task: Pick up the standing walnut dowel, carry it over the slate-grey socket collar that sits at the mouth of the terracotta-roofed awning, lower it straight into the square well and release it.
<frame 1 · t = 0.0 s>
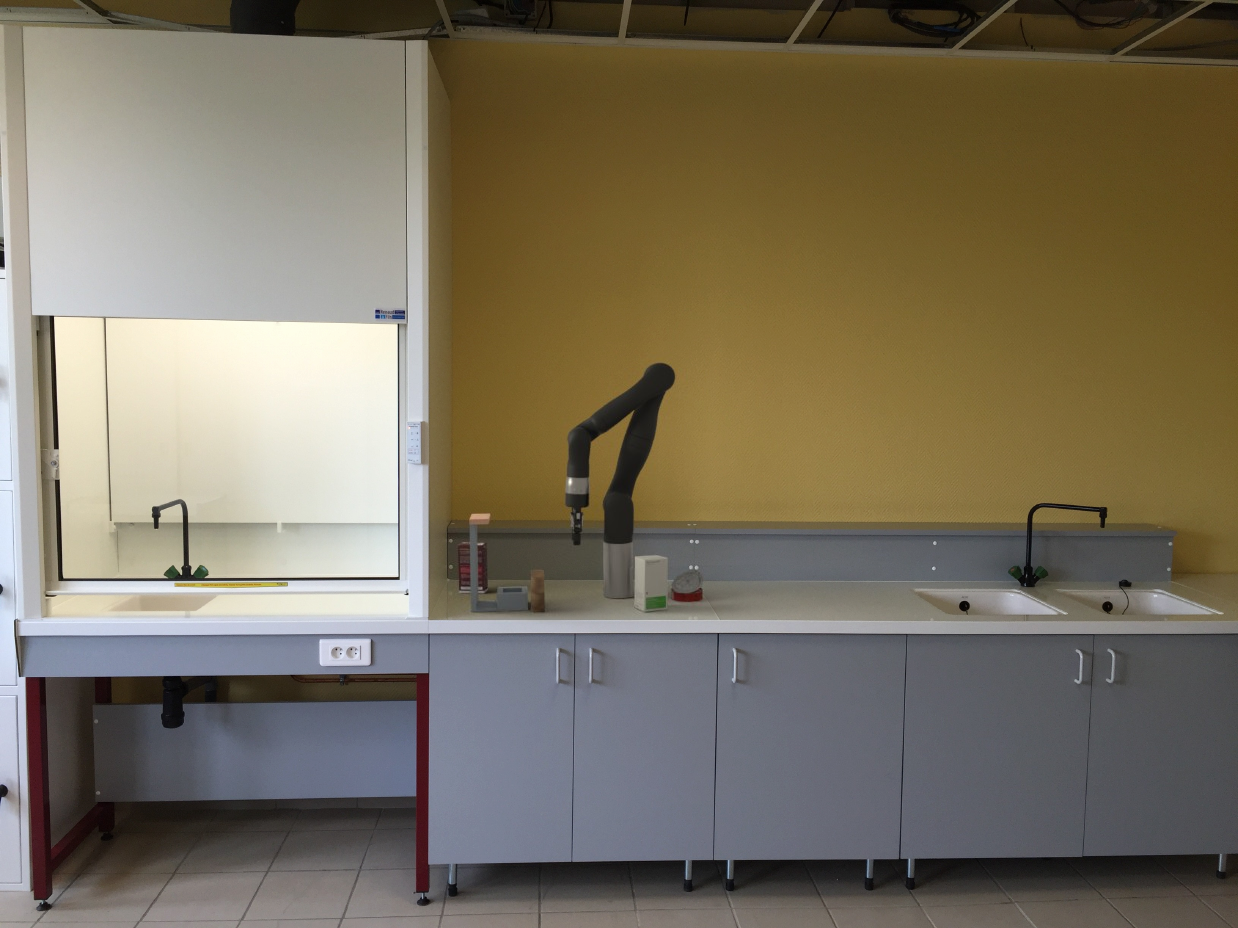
hand: (576, 542, 258), 17 cm above the table, tool pointing down, fingers open, 8 cm apart
supplement box: (473, 592, 266), on the table
canned food: (686, 599, 257), on the table
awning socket: (512, 606, 247), on the table
peg: (537, 610, 242), on the table
skincare box: (650, 609, 245), on the table
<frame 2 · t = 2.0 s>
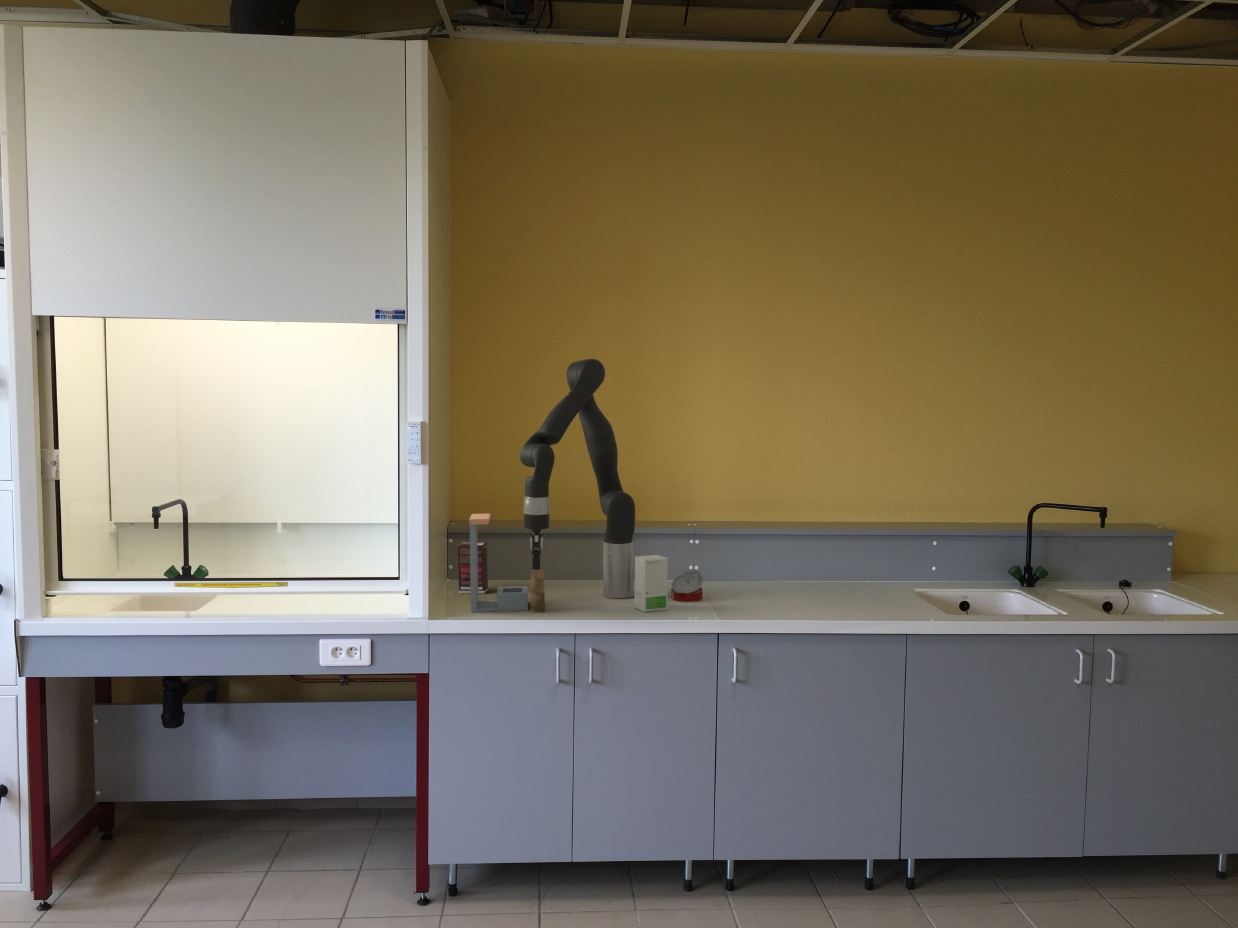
hand: (536, 566, 241), 13 cm above the table, tool pointing down, fingers open, 8 cm apart
nothing on the table moved.
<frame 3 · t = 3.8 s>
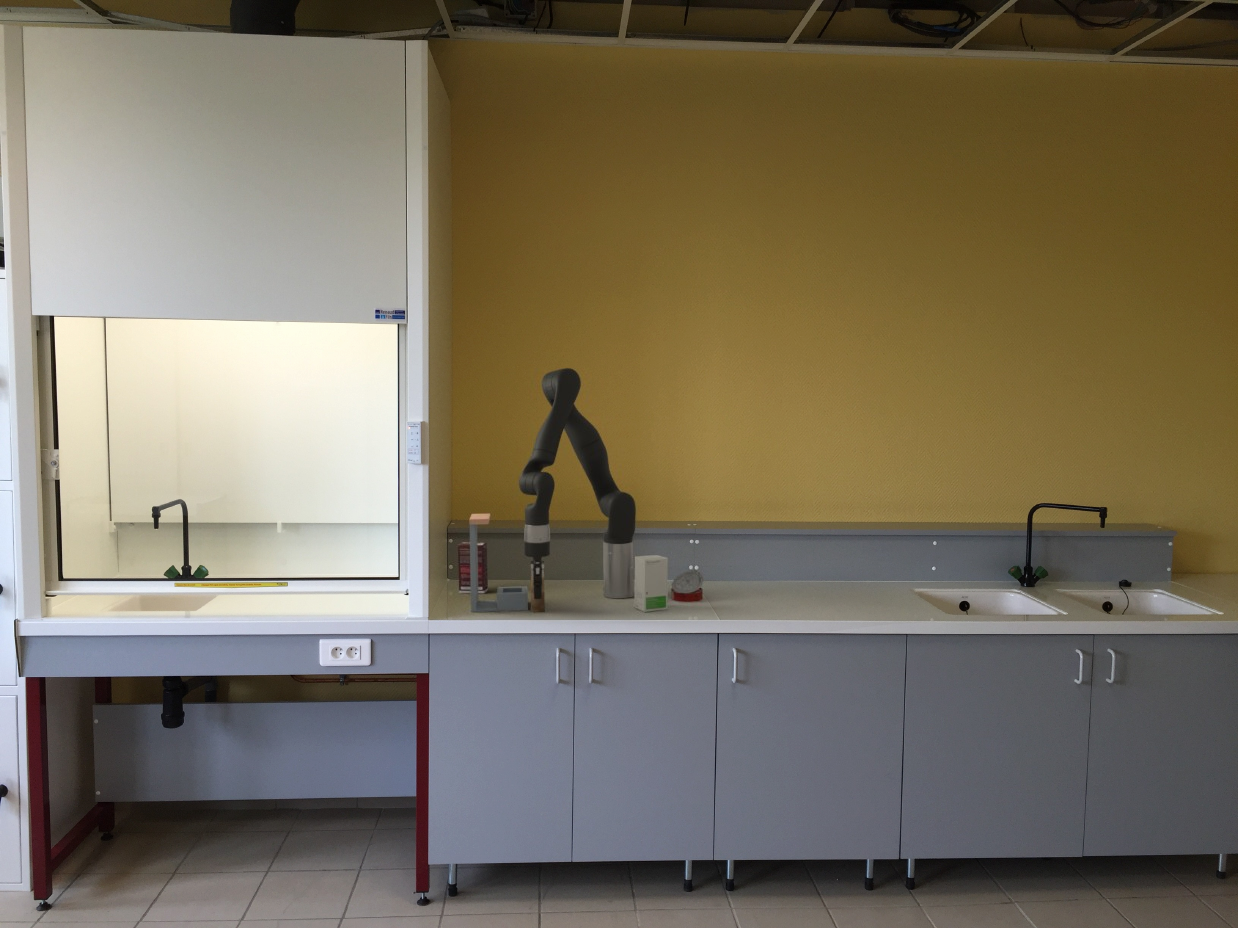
hand: (537, 596, 242), 4 cm above the table, tool pointing down, fingers closed on peg, 4 cm apart
peg: (537, 610, 242), on the table, touching gripper
everything else where it was.
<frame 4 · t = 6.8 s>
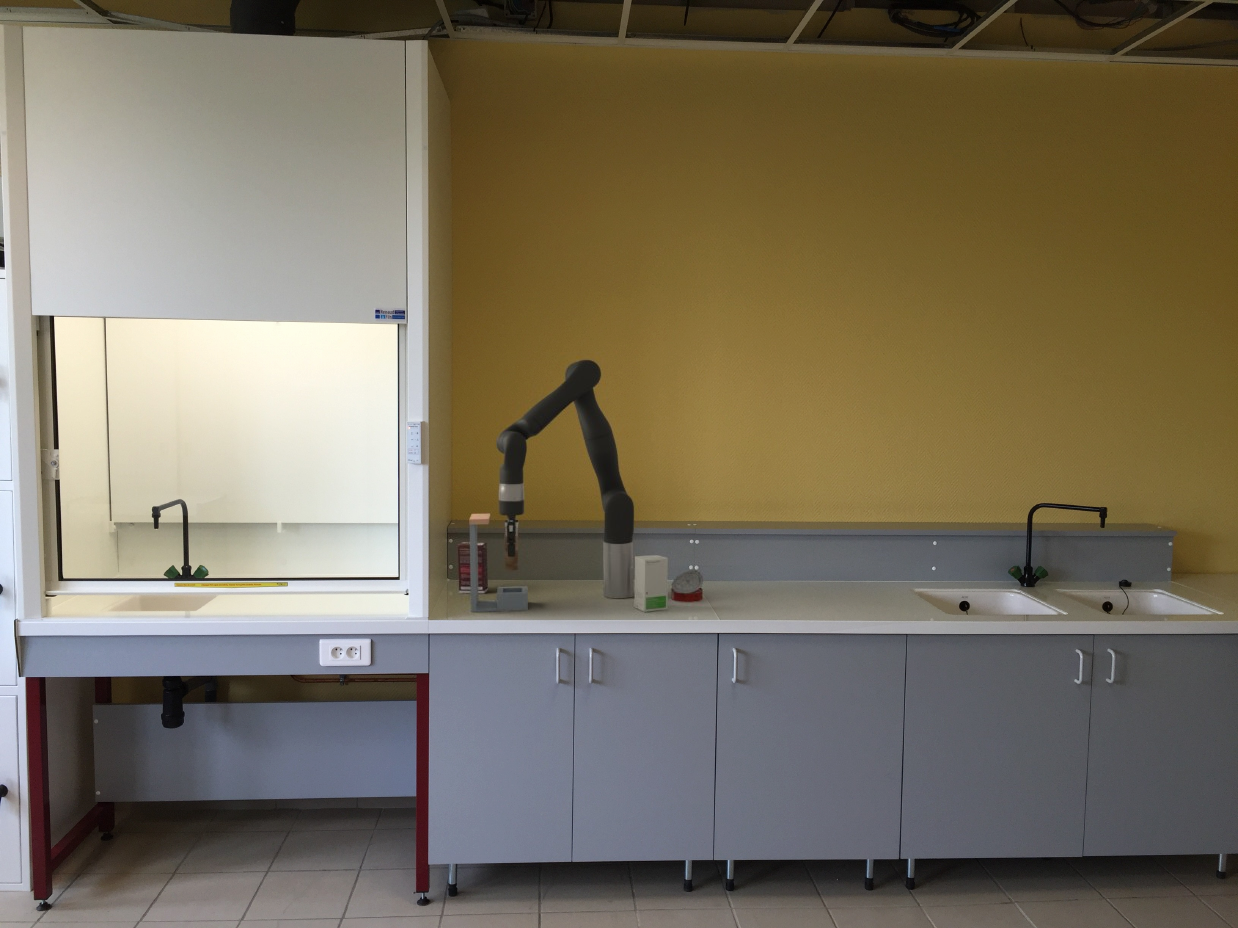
hand: (511, 554, 246), 16 cm above the table, tool pointing down, fingers closed on peg, 4 cm apart
peg: (511, 568, 246), point 11 cm above the table, touching gripper
everything else where it was.
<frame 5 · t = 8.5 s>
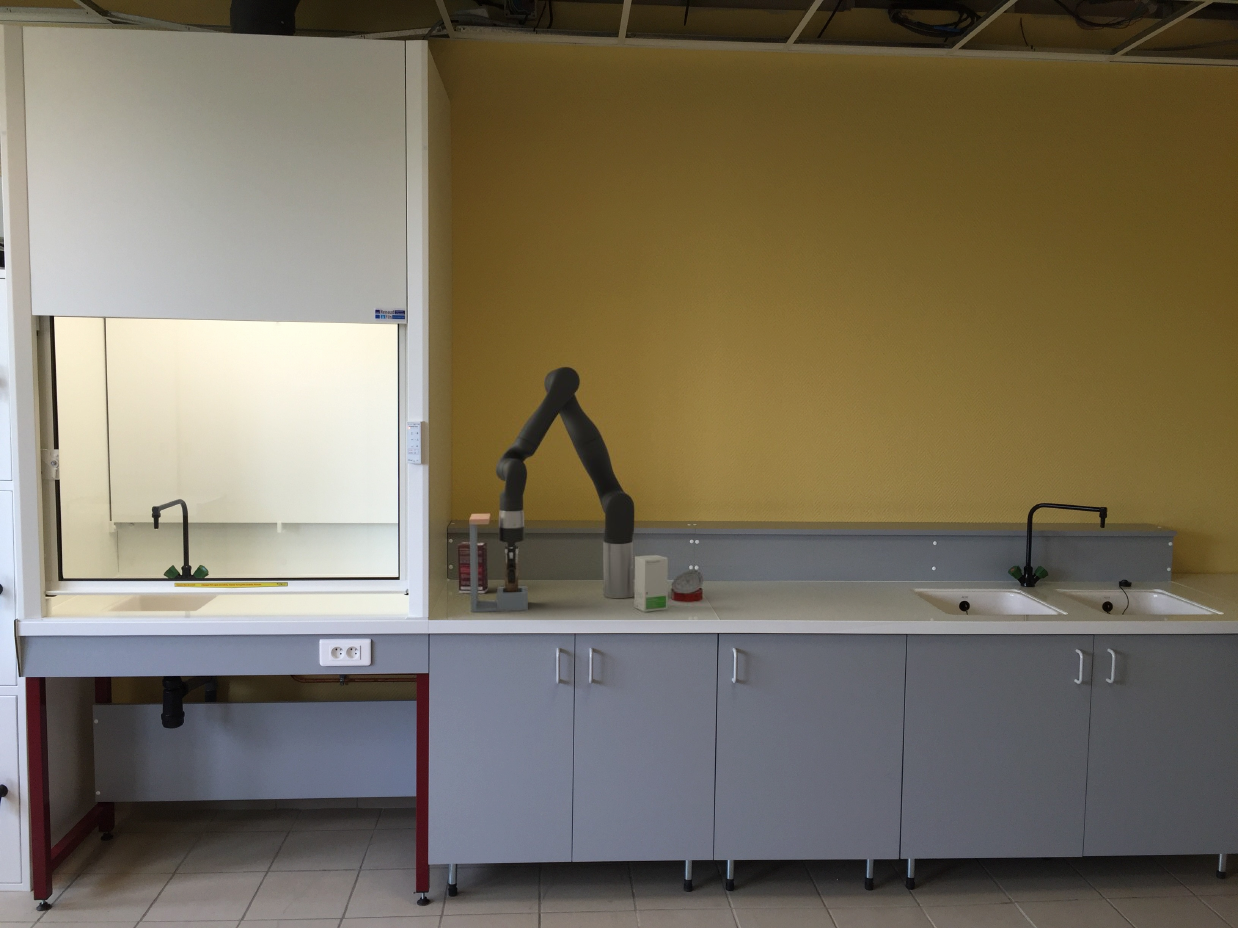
hand: (511, 581, 247), 8 cm above the table, tool pointing down, fingers closed on peg, 4 cm apart
peg: (511, 595, 247), point 3 cm above the table, touching gripper
everything else where it was.
when the fingers open (6 cm above the table, at t = 9.7 s): peg drops 2 cm, resting in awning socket.
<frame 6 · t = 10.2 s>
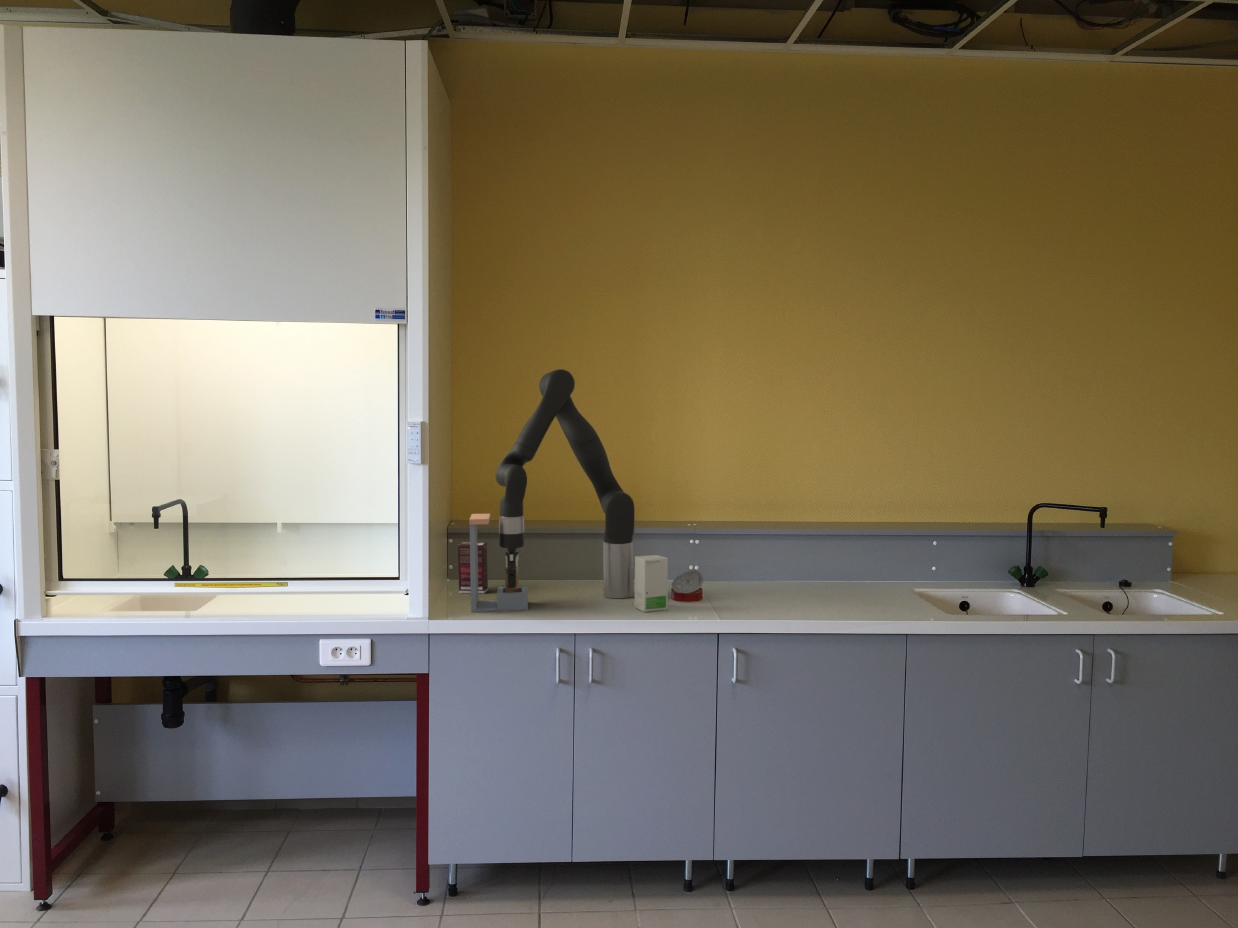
hand: (512, 584, 247), 7 cm above the table, tool pointing down, fingers open, 8 cm apart
peg: (512, 606, 247), resting in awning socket
everything else where it was.
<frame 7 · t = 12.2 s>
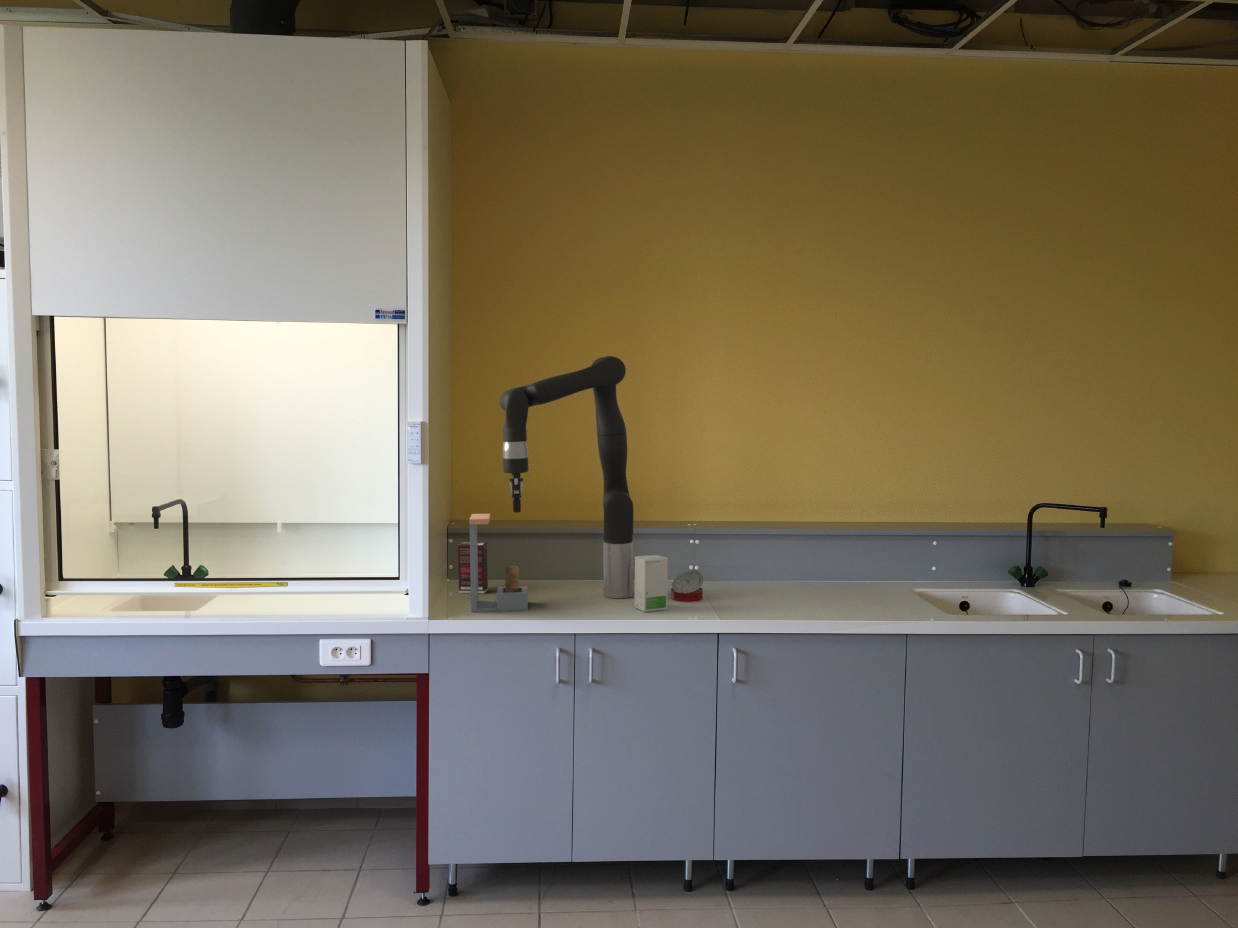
hand: (517, 510, 247), 29 cm above the table, tool pointing down, fingers open, 8 cm apart
nothing on the table moved.
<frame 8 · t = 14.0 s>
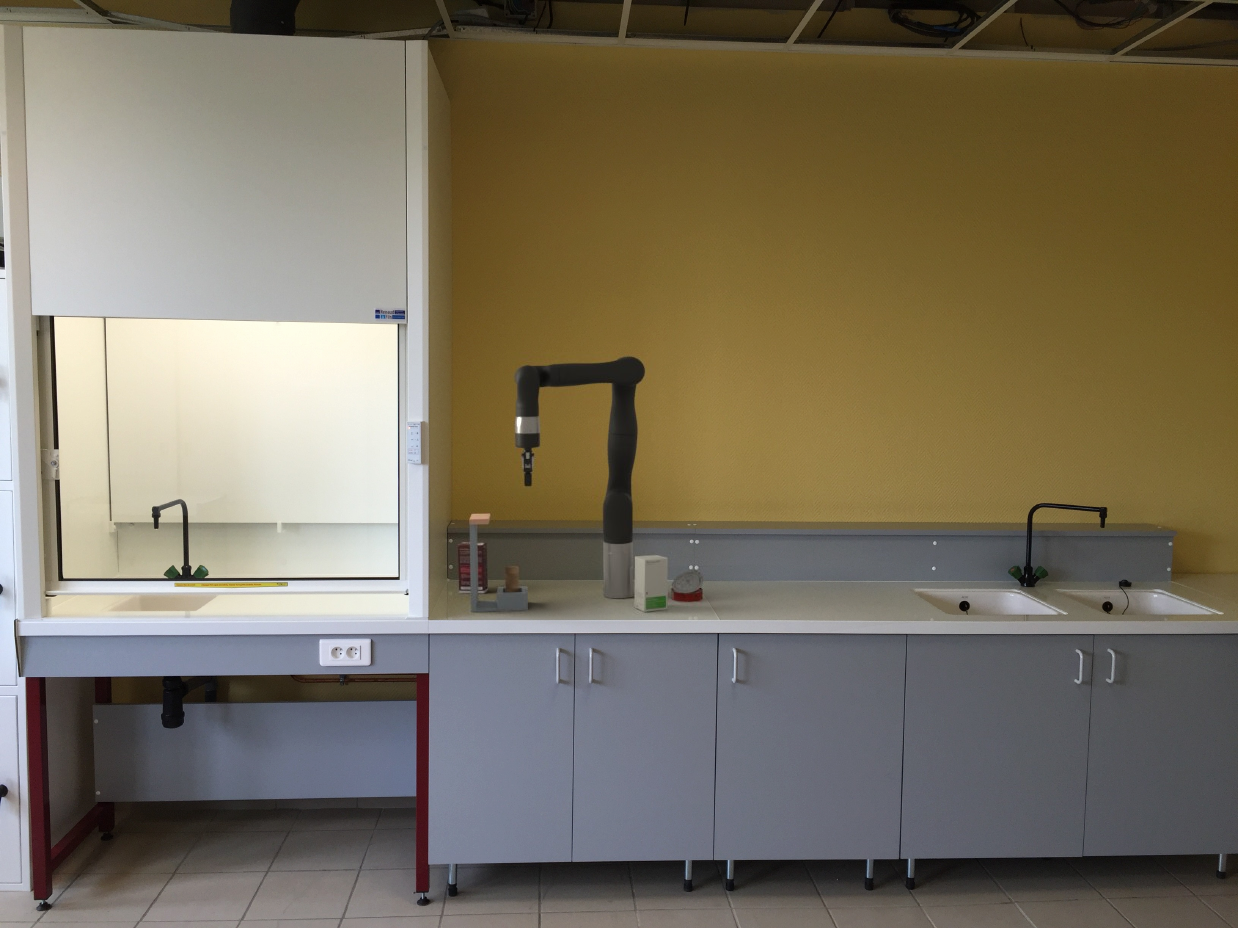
hand: (528, 484, 251), 36 cm above the table, tool pointing down, fingers open, 8 cm apart
nothing on the table moved.
at the end: peg 0.1 cm off-centre on the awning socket, point 0.0 cm above the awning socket's base; peg tilted 0°; the gripper is holding nothing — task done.
